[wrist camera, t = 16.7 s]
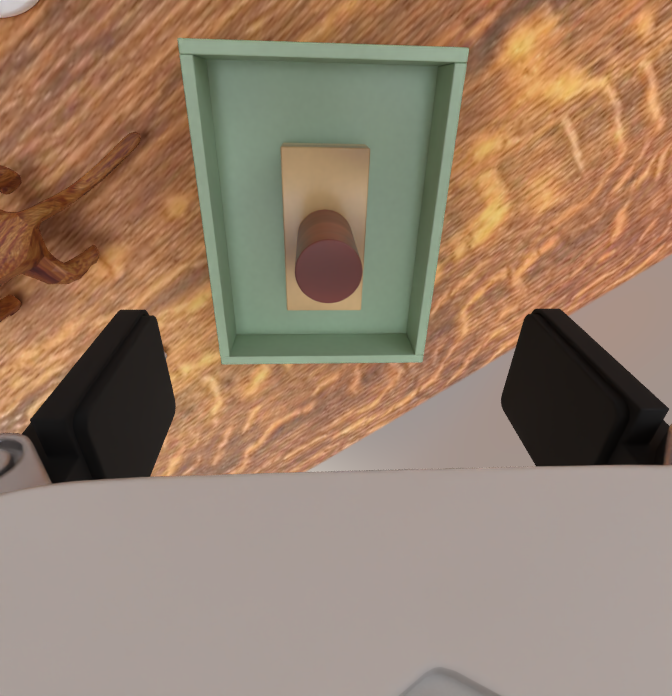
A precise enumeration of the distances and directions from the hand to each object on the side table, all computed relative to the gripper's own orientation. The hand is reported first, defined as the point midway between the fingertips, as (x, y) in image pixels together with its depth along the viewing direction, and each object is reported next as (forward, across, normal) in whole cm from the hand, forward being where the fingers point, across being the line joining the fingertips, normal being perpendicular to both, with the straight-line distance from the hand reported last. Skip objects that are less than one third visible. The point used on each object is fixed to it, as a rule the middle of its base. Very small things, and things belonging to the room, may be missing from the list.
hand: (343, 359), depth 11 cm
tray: (+18, 0, +1) cm, 18 cm away
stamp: (+17, 0, +1) cm, 17 cm away
